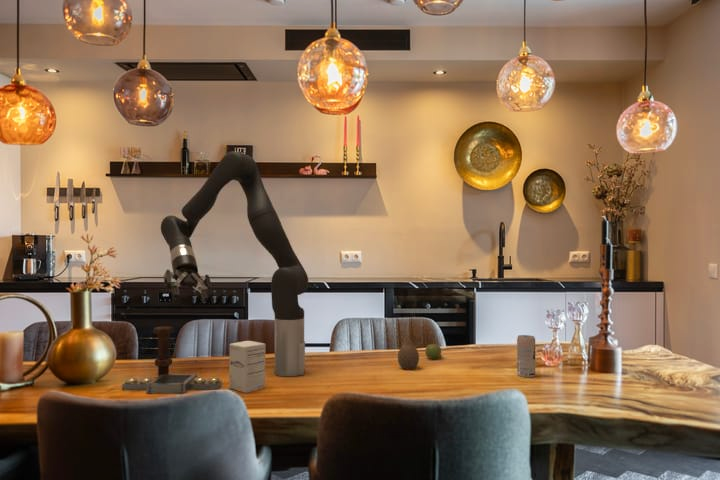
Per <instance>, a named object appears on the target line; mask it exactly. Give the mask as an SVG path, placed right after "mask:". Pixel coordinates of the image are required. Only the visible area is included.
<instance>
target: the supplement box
mask: <svg viewBox="0 0 720 480" xmlns="http://www.w3.org/2000/svg"><path fill="white" fill-rule="evenodd" d="M228 363H229V367H228V368H229V369H228V370H229V372H228V374H229V375H228V376H229V377H228V378H229V379H228V380H229V382H228V383H229V384H228V387H229V389H230V390H231V389H232V390H236V391H239V392H242V393H244V394H247V393H250V392H251V393H252V392H255V391H258V390H262V389H265V388H266V343H264V342H259V341H254V340H244V341H237V342H233V343H229V362H228Z"/></svg>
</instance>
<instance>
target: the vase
mask: <svg viewBox="0 0 720 480" xmlns="http://www.w3.org/2000/svg"><path fill="white" fill-rule="evenodd" d="M419 361H420V355H419V351H418V349H417V347H416V346H415V345H414V343H413V341H412V340H404V342H403V343H402V345H401V347H400V348H399V350H398V353H397V362H398V364H399V366H400V367H401V369H402V370H407V369H410V370H415V368H417V366H418V365H419Z"/></svg>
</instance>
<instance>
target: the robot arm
mask: <svg viewBox="0 0 720 480" xmlns="http://www.w3.org/2000/svg"><path fill="white" fill-rule="evenodd" d="M259 170H260V169H259V168H258V165H257V162H256V161H255V159H254V158H253V157H251V156H250V155H248V154H245V153H243V152H240V151H234V150H233V151H229V152H227V153H225V154H224V156H222V157H221V159H220V161H219V162H218V163H217V165H216V166H215V168H214V169H213V171H212V172H211V173H210V175H209V176H208V178H207V180H206V181H205V182H204V184H203V185H202V186H201V188H200V189H198V191H197V192H196V193H195V194H194V195H193V196H192V197H191V199H189V200H188V201H187V202H186V204H185V205H183V207H182V209H181V214H182V216H183V218H185V220H184V219H182V218H179V217H178V216H175V215H172V214H171V215H167V216H165V217H163V219H162V221H161V224H160V231H161V232H160V233H161V235H162V237H163V239H164V240H165V242H166V244H167V246H169V253H170V264H171V269H172V272H171V270H170V269H166V271H165V273H164V274H163V281H164V282H163V284H164V288H165V290H169V289H170V291H171V293H172V297H173V298H174V301H175V300H179V298H180V296H181V293H180V288H179V287H180V286H182V287H185V288H186V287H188V288H193V289H194V290H195V291H198V292H199V293H200V297H201V302H202V303H206V302H207V301H208V299H209V294H210V292H211V291H212V289H213V285H212V282H211V279H210V275H208V274H205V275H204V276H202V275H200V274H199V268H198V264H197V258H196V255H195V252H194V249H193V245H192V242H191V237H192V235H193V234H194V231H195V230H196V228H197V227H198V224H199V223H200V221H201V220H202V219H203V218H204V217H205V216H206V215H207V214H208V213H209V212H210V210H211V211H212V208H213V207H214V206H215V203H216V201H217V198H218V196H219V194H220V192H221V190H222V189H223V188H224V187H225V186H227V185H228V184H229V183H230V182H231V181H237V182H238V183H239V185H240V186H241V189H242V191H243V192H244V195H245V198H246V209H247V210H246V211H247V212H246V213H247V216H246V217H247V220H248V223H249V225H250V228H251V229H252V232H253V234H254V236H255V237H256V239H257V240H258V242H259V243H260V245H262V246H263V248H264V249H265V250H266V251H267V252H268V253H269V255H270V256H271V257H272V258H273V259H274V261H275V263H276V265H277V267H278V269H276V270H275V272H273V274H272V277H271V281H270V282H271V283H270V284H271V286H270V287H271V288H270V289H271V291H270V292H271V293H270V294H271V308H272V311H273V314H274V375H276V376H279V377H297V376H304V375H305V372H306V342H305V309H304V308H303V307H301V306H300V304H299V296H300V295H302V294H304V293H305V292H306V291H307V290H308V287H309V276H308V273H307V272H306V270H305V267H303V264H302V263H301V262H300V259H299V258H298V256H297V254H296V253H295V251H294V249H293V247H292V245H291V242H290V239H289V238H288V236H287V234H286V231H285V229H284V227H283V225H282V222H281V220H280V218H279V215H278V213H277V211H276V210H275V208H274V205H273V203H272V201H271V199H270V197H269V195H268V193H267V191H266V188H265V185H264V183H263V180H262V178H261V177H262V176H261V173H260V171H259ZM172 278H173V279H174V280H175V281H174V283H173V282H172Z"/></svg>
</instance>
